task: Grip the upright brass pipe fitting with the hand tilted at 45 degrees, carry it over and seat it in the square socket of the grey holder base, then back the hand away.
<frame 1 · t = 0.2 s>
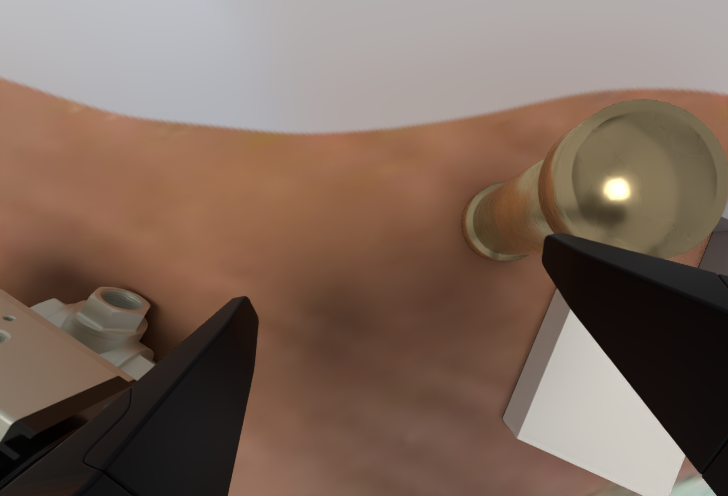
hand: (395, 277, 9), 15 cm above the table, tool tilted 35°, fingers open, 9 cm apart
ball valve: (122, 338, 25), on the table
grey holder base: (618, 321, 23), on the table
brass fitting: (498, 223, 24), on the table
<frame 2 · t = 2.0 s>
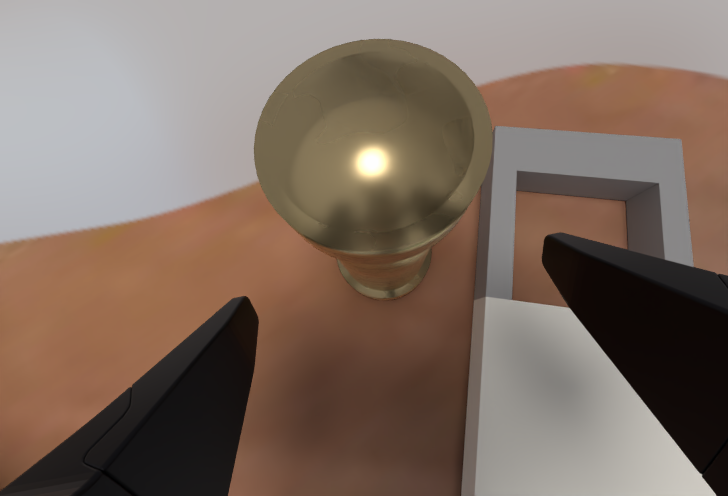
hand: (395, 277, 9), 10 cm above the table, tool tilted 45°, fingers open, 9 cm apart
grey holder base: (562, 335, 18), on the table
brass fitting: (384, 255, 20), on the table
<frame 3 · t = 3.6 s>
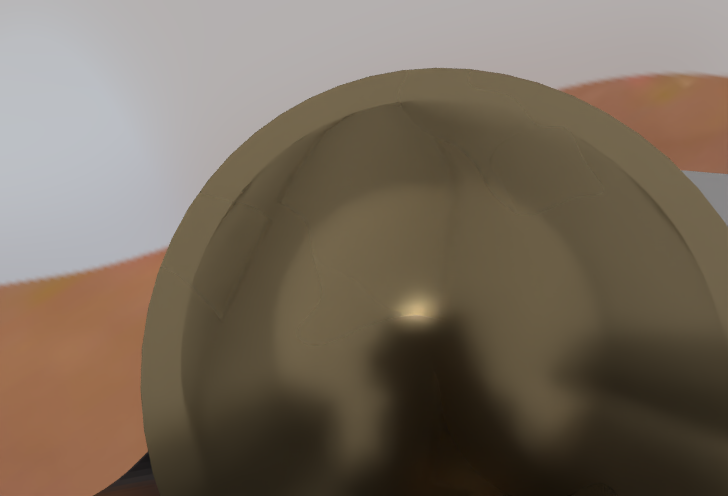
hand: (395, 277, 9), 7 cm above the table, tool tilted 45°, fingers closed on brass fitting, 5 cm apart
grey holder base: (639, 440, 13), on the table
brass fitting: (399, 324, 15), on the table, touching gripper
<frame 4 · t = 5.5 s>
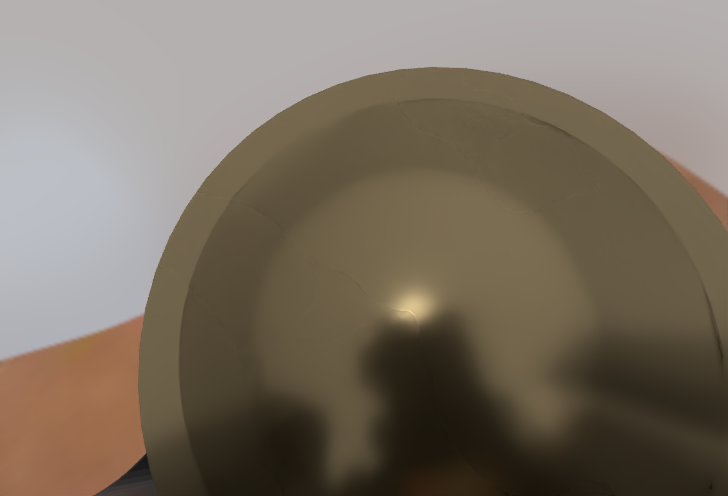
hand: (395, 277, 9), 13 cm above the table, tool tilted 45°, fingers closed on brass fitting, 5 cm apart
brass fitting: (399, 323, 15), point 7 cm above the table, touching gripper
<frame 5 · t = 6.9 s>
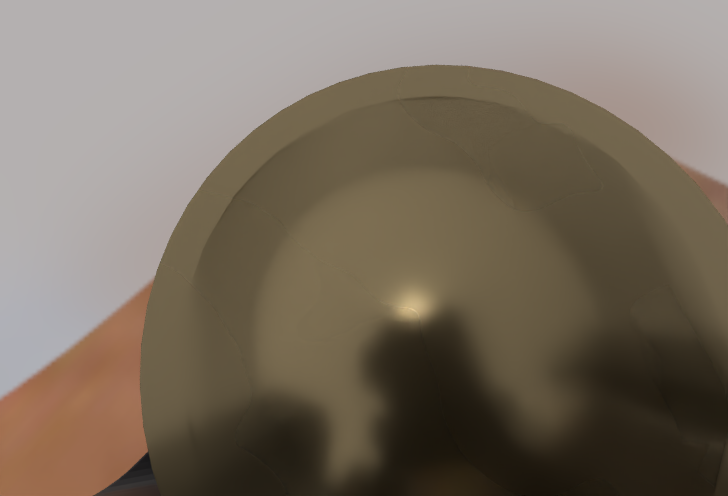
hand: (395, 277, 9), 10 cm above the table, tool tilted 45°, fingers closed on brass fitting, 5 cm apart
brass fitting: (399, 323, 15), point 3 cm above the table, touching gripper
when the fingers open (8 cm above the table, at t = 7.7 s): brass fitting drops 1 cm, resting in grey holder base.
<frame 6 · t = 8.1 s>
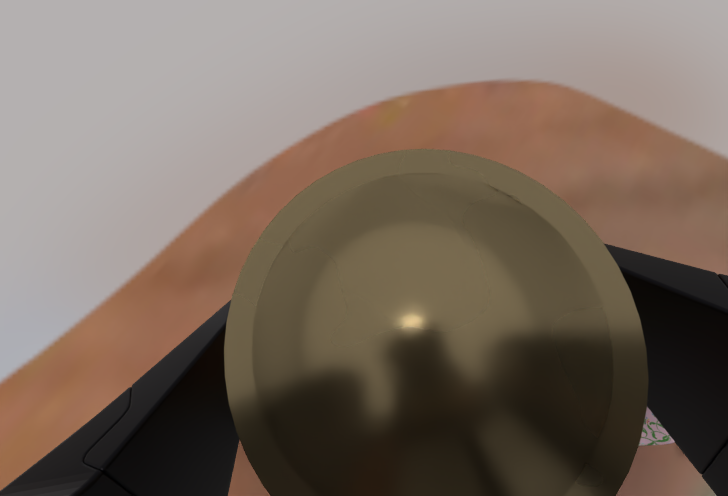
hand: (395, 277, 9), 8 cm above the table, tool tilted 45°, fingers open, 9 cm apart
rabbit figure: (704, 370, 15), on the table
brass fitting: (399, 325, 17), resting in grey holder base
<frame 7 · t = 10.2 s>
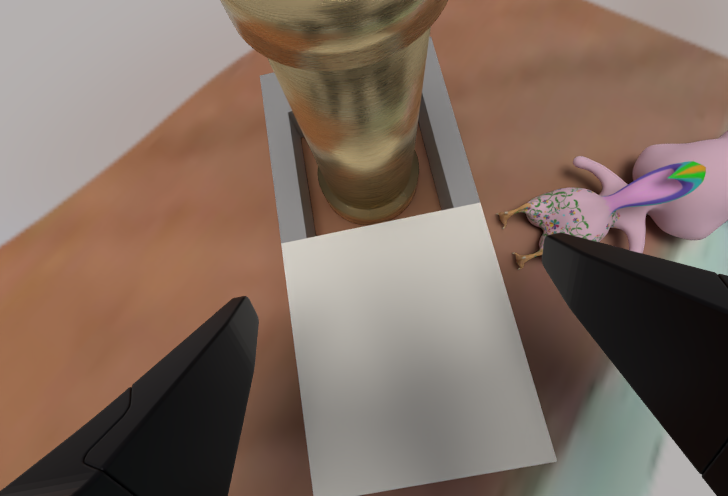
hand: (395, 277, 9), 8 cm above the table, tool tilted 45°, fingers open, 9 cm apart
grey holder base: (385, 258, 18), on the table
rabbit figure: (630, 208, 17), on the table
brass fitting: (369, 180, 19), resting in grey holder base
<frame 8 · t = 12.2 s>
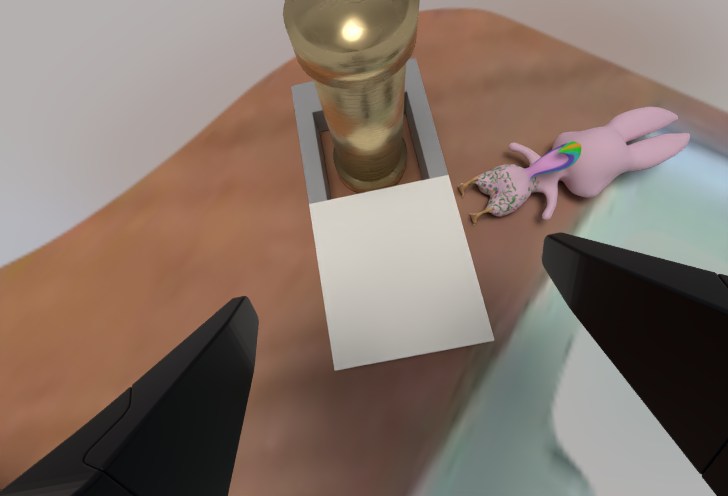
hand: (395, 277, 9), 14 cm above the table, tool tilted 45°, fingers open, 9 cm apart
grey holder base: (382, 218, 24), on the table
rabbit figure: (553, 179, 24), on the table
brass fitting: (370, 162, 25), resting in grey holder base
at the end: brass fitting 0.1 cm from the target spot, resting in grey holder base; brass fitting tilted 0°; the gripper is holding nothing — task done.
